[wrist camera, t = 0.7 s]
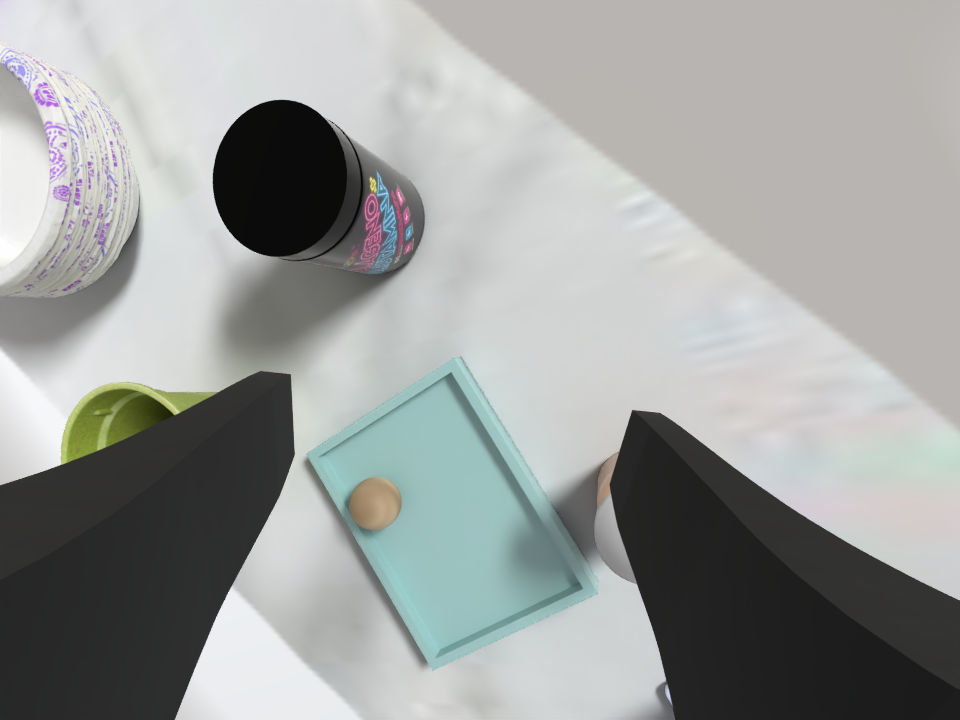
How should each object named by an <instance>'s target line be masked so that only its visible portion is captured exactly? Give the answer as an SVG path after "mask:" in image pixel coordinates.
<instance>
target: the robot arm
mask: <svg viewBox="0 0 960 720" xmlns="http://www.w3.org/2000/svg"><path fill="white" fill-rule="evenodd" d="M294 455H295V452H294V431H293V411H292V390H291V374H282V373H273V372H263V371H260V372H258V373H255V374H253V375H251V376H249V377H247V378H245V379H243V380H241V381H239V382H237V383H235V384H233V385H231V386H229V387H227V388H226V389H224V390H222V391H220V392H218V393H216V394H214V395H212V396H211V397H209V398H207V399H205V400H203V401H201V402H199V403H197V404H195V405H193V406H192V407H190V408H188V409H186V410H184V411H182V412H180V413H178V414H176V415H174V416H172V417H170V418H168V419H166V420H164V421H162V422H159V423H157V424H155V425H153V426H151V427H149V428H147V429H145V430H143V431H141V432H138V433H136V434H134V435H132V436H130V437H128V438H126V439H124V440H121V441H119V442H117V443H115V444H112V445H110V446H108V447H105V448H103V449H100V450H98V451H96V452H93V453H91V454H88V455H85V456H83V457H80V458H78V459H75V460H73V461H70V462H67V463H65V464H62V465H60V466H57V467H54V468H51V469H49V470H46V471H43V472H40V473H37V474H34V475H31V476H28V477H25V478H22V479H19V480H16V481H13V482H10V483H6V484H3V485H0V720H175V718H176V715H177V712H178V710H179V707H180V705H181V702H182V699H183V697H184V695H185V692H186V689H187V687H188V684H189V682H190V679H191V677H192V674H193V672H194V669H195V667H196V664H197V662H198V659H199V657H200V655H201V652H202V650H203V647H204V645H205V643H206V640H207V638H208V635H209V633H210V631H211V628H212V626H213V623H214V621H215V619H216V616H217V614H218V612H219V610H220V608H221V606H222V604H223V602H224V600H225V598H226V595H227V594H228V592H229V590H230V588H231V586H232V584H233V582H234V581H235V579H236V577H237V575H238V573H239V571H240V569H241V568H242V566H243V564H244V562H245V560H246V558H247V556H248V555H249V553H250V551H251V549H252V547H253V545H254V543H255V542H256V540H257V538H258V536H259V534H260V532H261V530H262V529H263V527H264V525H265V523H266V521H267V519H268V517H269V515H270V513H271V511H272V510H273V508H274V506H275V504H276V502H277V500H278V498H279V496H280V493H281V491H282V488H283V486H284V483H285V480H286V478H287V475H288V472H289V469H290V466H291V464H292V461H293V458H294ZM609 486H610V491H611V497H612V503H613V508H614V513H615V517H616V522H617V527H618V530H619V533H620V536H621V539H622V542H623V545H624V548H625V551H626V554H627V557H628V559H629V562H630V565H631V568H632V571H633V574H634V577H635V579H636V582H637V585H638V588H639V591H640V594H641V597H642V599H643V602H644V605H645V608H646V611H647V614H648V616H649V619H650V622H651V625H652V628H653V632H654V635H655V638H656V641H657V645H658V648H659V652H660V656H661V660H662V664H663V668H664V672H665V677H666V681H667V684H666V686H665V694H666V697H667V698H668V700H669V702H670V703H671V705H672V707H673V711H674V715H675V720H960V600H957V599H955V598H953V597H951V596H949V595H947V594H945V593H943V592H941V591H939V590H937V589H934V588H932V587H930V586H928V585H926V584H924V583H922V582H920V581H918V580H916V579H914V578H912V577H910V576H908V575H906V574H905V573H903V572H901V571H899V570H897V569H895V568H893V567H891V566H889V565H887V564H885V563H884V562H882V561H880V560H878V559H876V558H874V557H872V556H870V555H868V554H867V553H865V552H863V551H861V550H860V549H858V548H856V547H854V546H852V545H851V544H849V543H847V542H845V541H844V540H842V539H840V538H839V537H837V536H835V535H834V534H832V533H830V532H829V531H827V530H825V529H824V528H822V527H820V526H819V525H817V524H815V523H814V522H812V521H811V520H809V519H807V518H806V517H804V516H803V515H801V514H799V513H798V512H796V511H795V510H793V509H792V508H790V507H789V506H787V505H786V504H784V503H783V502H781V501H780V500H779V499H777V498H776V497H774V496H773V495H771V494H770V493H768V492H767V491H765V490H764V489H763V488H761V487H760V486H758V485H757V484H756V483H754V482H753V481H751V480H750V479H749V478H747V477H746V476H745V475H743V474H742V473H740V472H739V471H738V470H736V469H735V468H734V467H732V466H731V465H730V464H728V463H727V462H726V461H725V460H723V459H722V458H721V457H719V456H718V455H717V454H715V453H714V452H713V451H711V450H710V449H709V448H708V447H706V446H705V445H704V444H702V443H701V442H700V441H699V440H697V439H696V438H695V437H693V436H692V435H691V434H689V433H688V432H687V431H685V430H684V429H683V428H681V427H680V426H679V425H677V424H676V423H675V422H673V421H672V420H670V419H669V418H667V417H666V416H664V415H663V414H661V413H655V412H646V411H636V410H632V413H631V416H630V419H629V423H628V426H627V429H626V432H625V435H624V439H623V442H622V445H621V448H620V452H619V455H618V458H617V461H616V464H615V468H614V471H613V474H612V477H611V480H610V484H609Z"/></svg>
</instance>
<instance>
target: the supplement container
mask: <svg viewBox="0 0 960 720" xmlns="http://www.w3.org/2000/svg"><path fill="white" fill-rule="evenodd" d="M213 192H214V198H215V202H216V206H217V209H218V212H219V214H220V216H221V219H222V221H223V222H224V224H225V226H226V227H227V229H228V230H229V232H230V233H231V234H232V235H233V236H234V237H235V238H236V239H237V240H238V241H239V242H240V243H241V244H242V245H244V246H245V247H247V248H248V249H250V250H252V251H254V252H256V253H259V254H262V255H266V256H271V257H277V258H281V259H284V260H289V261H298V262H300V261H301V262H307V263H312V264H317V265H322V266H328V267H333V268H338V269H344V270H349V271H354V272H359V273H365V274H372V275H378V274H384V273H388V272H391V271H393V270H395V269H397V268H399V267H400V266H402V265H403V264H404V263H406V262H407V261H408V260H409V259H410V258H411V257H412V255H413V254H414V253H415V251H416V250H417V248H418V246H419V244H420V242H421V239H422V236H423V232H424V225H425V214H424V207H423V203H422V200H421V197H420V195H419V193H418V191H417V189H416V188H415V186H414V185H413V184H412V183H411V181H410V180H409V179H408V178H407V177H405V176H404V175H403V174H401V173H400V172H398V171H397V170H396V169H394V168H393V167H392V166H390V165H389V164H387V163H386V162H385V161H383V160H382V159H380V158H379V157H378V156H376V155H375V154H374V153H372V152H371V151H369V150H368V149H367V148H365V147H364V146H362V145H361V144H360V143H358V142H357V141H356V140H354V139H353V138H351V137H350V136H349V135H347V134H346V133H345V132H344V131H343V130H342V129H341V128H340V127H338V126H337V125H336V124H334V123H333V122H331V121H330V120H328V119H326V118H325V117H324V116H322V115H321V114H319V113H318V112H317V111H315V110H314V109H312V108H310V107H309V106H307V105H304V104H302V103H299V102H296V101H290V100H273V101H268V102H265V103H261V104H259V105H257V106H254V107H253V108H251V109H249V110H248V111H246V112H245V113H244V114H242V115H241V116H240V117H239V118H238V119H237V120H236V121H235V122H234V123H233V124H232V125H231V127H230V128H229V130H228V131H227V133H226V134H225V136H224V138H223V140H222V142H221V144H220V146H219V149H218V151H217V155H216V158H215V163H214V169H213Z"/></svg>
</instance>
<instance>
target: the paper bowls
mask: <svg viewBox="0 0 960 720" xmlns="http://www.w3.org/2000/svg"><path fill="white" fill-rule="evenodd" d="M138 207H139V187H138V181H137V176H136V172H135V168H134V166H133V163H132V161H131V157H130V151H129V149H128V145H127V141H126V139H125V137H124V135H123V132H122V130H121V128H120V126H119V123H118V121H117V120H116V118H115V116H114V114H113V113H112V112H111V111H110V108H109V107H108V106H107V105H106V104H105V103H104V101H103V100H102V99H101V98H100V97H99V95H98V94H97V93H96V92H95V91H94V90H93V89H92V88H90V87H89V86H88V85H86V84H85V83H84V82H82V81H80V80H79V79H78V78H76V77H74V76H72V75H70V74H68V73H66V72H64V71H62V70H59V69H57V68H56V67H53V66H51V65H49V64H47V63H45V62H43V61H41V60H39V59H37V58H35V57H33V56H31V55H28V54H26V53H23V52H21V51H19V50H17V49H14V48H12V47H11V46H10V45H7V44H5V43H3V42H1V41H0V296H3V297H5V296H11V297H40V298H55V297H61V296H66V295H70V294H73V293H76V292H78V291H81V290H83V289H85V288H87V287H88V286H89V285H91V284H92V283H94V282H95V281H96V280H98V279H99V278H100V277H101V276H102V275H103V274H105V272H106V271H107V270H108V268H109V267H111V266H112V264H113V263H114V261H115V260H116V259H117V258H118V255H119V253H120V251H121V249H122V246H123V245H124V244H125V242H126V241H127V239H128V238H129V236H130V234H131V232H132V230H133V227H134V225H135V222H136V218H137V214H138Z"/></svg>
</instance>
